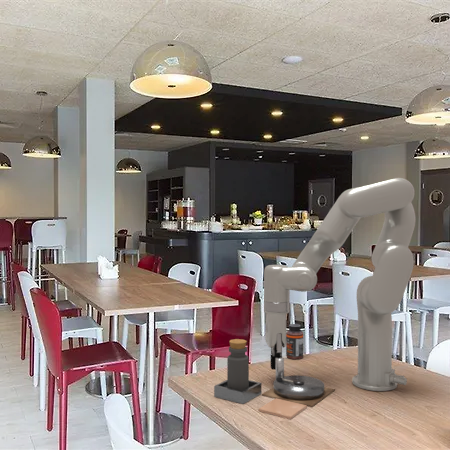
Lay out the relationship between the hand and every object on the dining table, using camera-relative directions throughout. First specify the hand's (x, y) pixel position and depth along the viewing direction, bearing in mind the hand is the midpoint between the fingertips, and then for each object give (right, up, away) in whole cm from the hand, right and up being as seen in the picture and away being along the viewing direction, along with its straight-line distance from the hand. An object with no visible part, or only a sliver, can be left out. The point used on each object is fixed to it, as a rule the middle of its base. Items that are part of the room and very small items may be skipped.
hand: (276, 368), depth 149 cm
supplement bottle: (+9, -4, +26) cm, 28 cm away
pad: (0, -5, -21) cm, 21 cm away
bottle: (-12, -5, -11) cm, 16 cm away
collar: (-12, -4, -11) cm, 16 cm away
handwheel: (+5, -4, -9) cm, 11 cm away
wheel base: (+5, -4, -9) cm, 11 cm away
